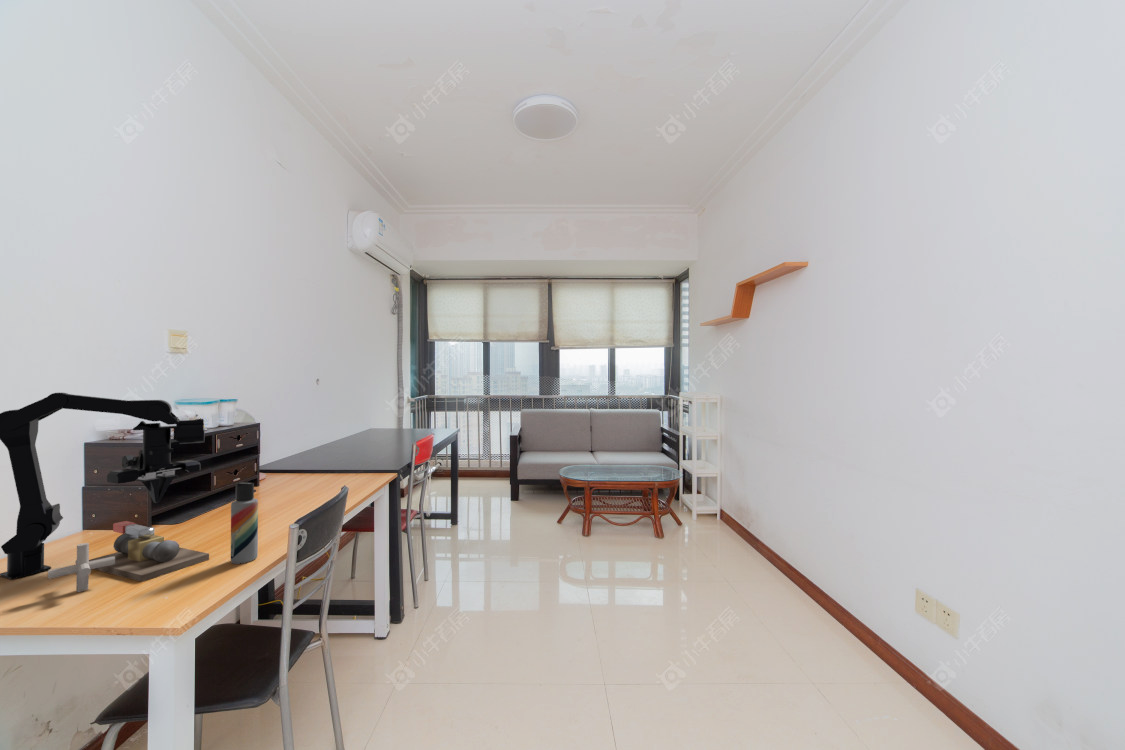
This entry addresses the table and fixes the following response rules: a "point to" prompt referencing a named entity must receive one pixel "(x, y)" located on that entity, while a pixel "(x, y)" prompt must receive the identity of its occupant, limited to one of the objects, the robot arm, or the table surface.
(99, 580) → the table surface
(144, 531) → the lever
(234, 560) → the lotion bottle
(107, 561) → the pipe connector
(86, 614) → the table surface
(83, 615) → the table surface
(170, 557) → the valve mount
